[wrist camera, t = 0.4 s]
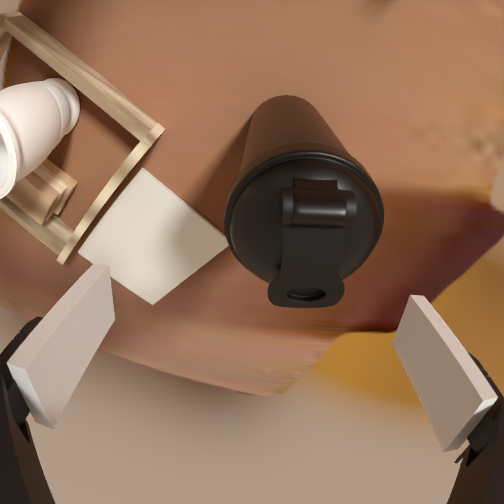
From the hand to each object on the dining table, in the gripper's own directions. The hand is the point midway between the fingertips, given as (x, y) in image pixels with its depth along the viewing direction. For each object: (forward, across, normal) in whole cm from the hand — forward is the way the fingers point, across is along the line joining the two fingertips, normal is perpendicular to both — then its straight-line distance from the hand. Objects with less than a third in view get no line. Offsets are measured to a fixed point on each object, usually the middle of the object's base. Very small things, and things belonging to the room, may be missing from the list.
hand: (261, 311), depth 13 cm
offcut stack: (+28, -34, +1) cm, 44 cm away
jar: (+26, -27, +9) cm, 38 cm away
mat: (+32, -15, -12) cm, 37 cm away
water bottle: (+27, +3, +7) cm, 28 cm away
